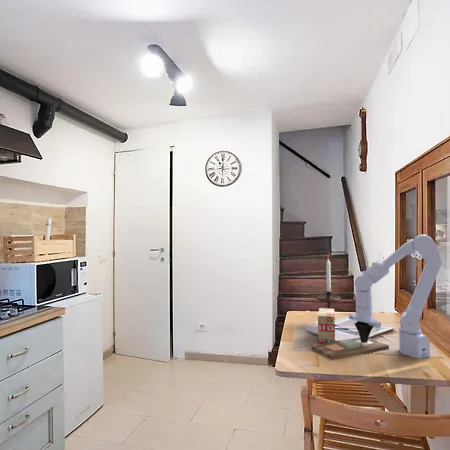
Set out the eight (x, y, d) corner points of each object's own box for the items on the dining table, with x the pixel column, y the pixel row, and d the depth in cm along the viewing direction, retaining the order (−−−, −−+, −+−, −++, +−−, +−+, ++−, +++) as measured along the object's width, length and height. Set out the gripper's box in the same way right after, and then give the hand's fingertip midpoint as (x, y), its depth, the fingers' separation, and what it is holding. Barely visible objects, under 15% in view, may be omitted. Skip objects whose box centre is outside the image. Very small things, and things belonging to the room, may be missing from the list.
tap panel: (388, 352, 135) (388, 345, 135) (332, 363, 125) (332, 356, 125) (364, 342, 147) (364, 336, 147) (311, 352, 136) (311, 345, 136)
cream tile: (374, 349, 137) (374, 342, 137) (364, 351, 135) (364, 344, 135) (364, 345, 142) (364, 339, 142) (354, 347, 140) (354, 340, 140)
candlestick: (344, 331, 161) (343, 252, 161) (320, 332, 161) (319, 253, 161) (337, 324, 172) (336, 251, 172) (314, 325, 172) (313, 251, 172)
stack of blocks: (320, 330, 162) (319, 303, 162) (334, 331, 160) (334, 303, 160) (318, 346, 142) (317, 315, 142) (334, 347, 140) (334, 315, 140)
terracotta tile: (345, 355, 132) (345, 348, 132) (334, 357, 130) (334, 350, 130) (335, 350, 136) (335, 344, 136) (325, 352, 135) (324, 346, 135)
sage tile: (360, 349, 135) (360, 343, 135) (349, 351, 133) (349, 345, 133) (350, 345, 139) (350, 339, 139) (340, 347, 137) (340, 341, 137)
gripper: (342, 303, 144) (342, 337, 144) (370, 311, 130) (370, 349, 130) (356, 301, 146) (356, 335, 147) (385, 309, 133) (385, 346, 133)
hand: (364, 342), depth 139 cm, fingers closed, pressing on cream tile
